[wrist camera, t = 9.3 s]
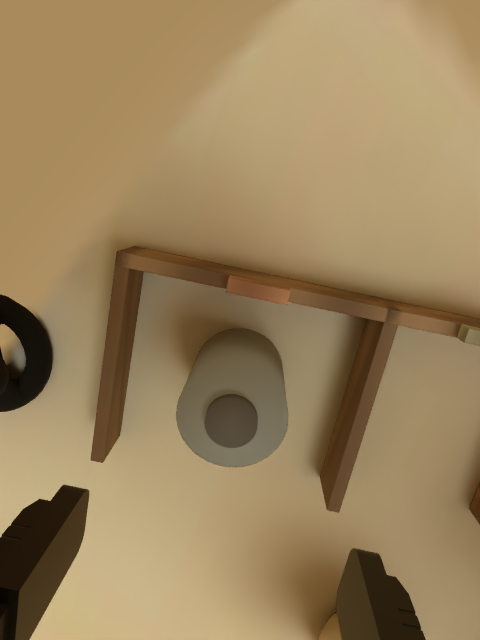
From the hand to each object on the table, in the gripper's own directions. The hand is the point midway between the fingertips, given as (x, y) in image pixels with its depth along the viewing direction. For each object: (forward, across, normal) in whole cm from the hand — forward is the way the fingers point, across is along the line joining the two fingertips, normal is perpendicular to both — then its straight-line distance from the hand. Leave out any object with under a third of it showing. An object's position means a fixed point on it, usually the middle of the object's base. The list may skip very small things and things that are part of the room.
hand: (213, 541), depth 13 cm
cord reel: (+13, 0, 0) cm, 13 cm away
